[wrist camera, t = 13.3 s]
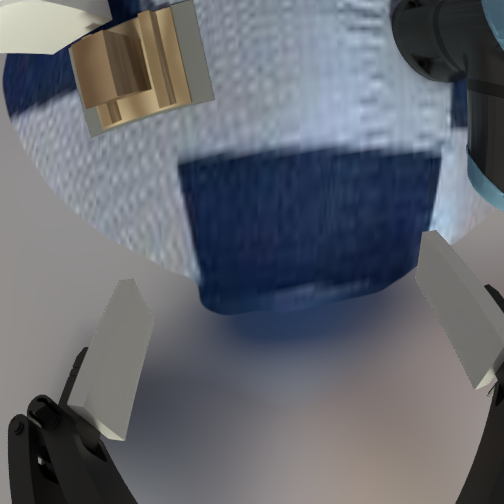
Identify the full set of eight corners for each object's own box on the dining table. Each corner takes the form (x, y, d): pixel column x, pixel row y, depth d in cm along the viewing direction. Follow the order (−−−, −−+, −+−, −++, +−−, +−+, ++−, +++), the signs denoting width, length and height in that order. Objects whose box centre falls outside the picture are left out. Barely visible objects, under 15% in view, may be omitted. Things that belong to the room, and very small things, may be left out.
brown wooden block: (140, 39, 30) (102, 29, 20) (152, 89, 35) (117, 96, 25) (114, 49, 31) (71, 45, 21) (126, 97, 35) (85, 109, 25)
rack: (171, 8, 29) (163, 1, 25) (192, 101, 37) (186, 104, 33) (84, 43, 30) (69, 41, 26) (105, 128, 38) (92, 135, 34)
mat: (192, 0, 28) (192, -1, 28) (214, 100, 37) (214, 100, 37) (69, 48, 30) (68, 48, 30) (92, 137, 39) (91, 137, 39)
